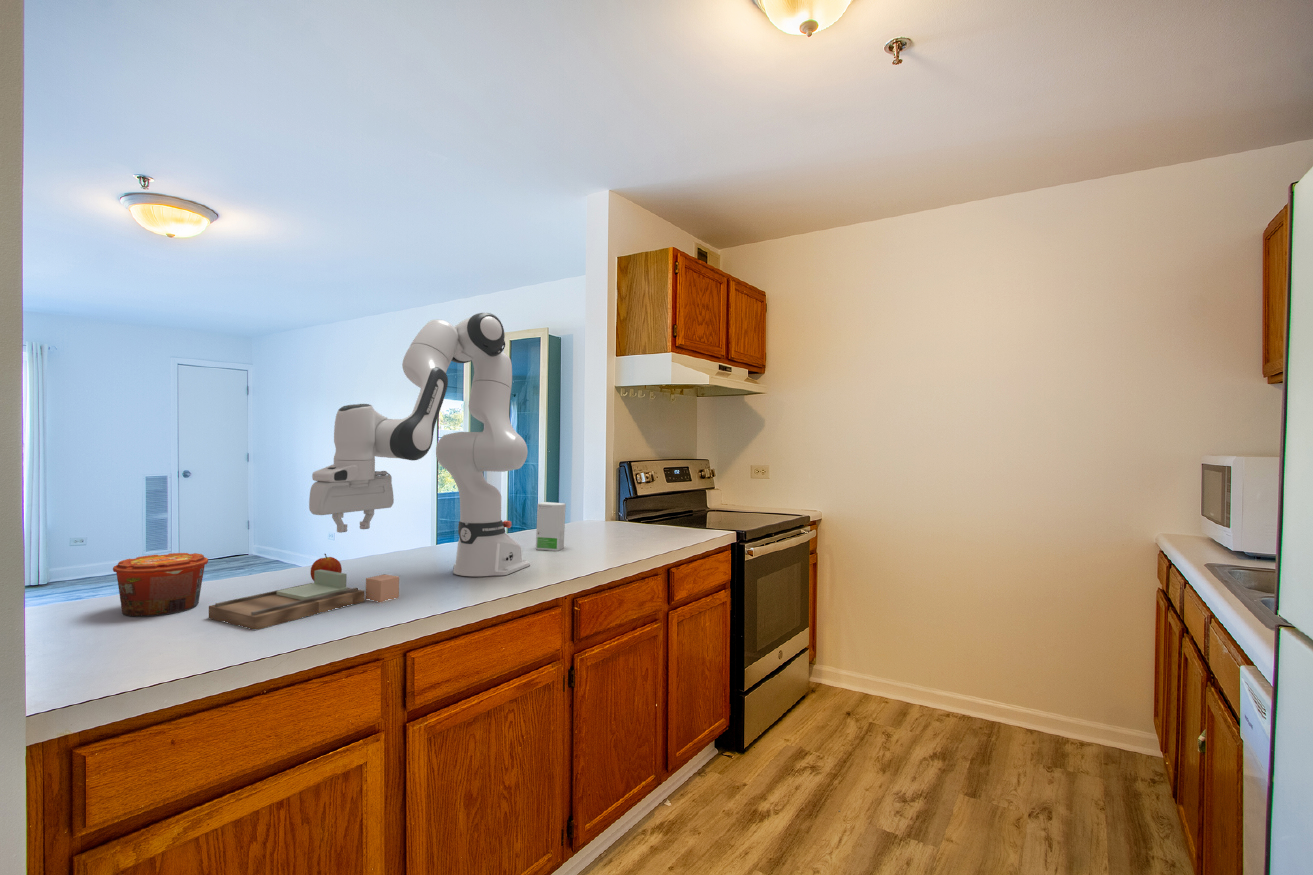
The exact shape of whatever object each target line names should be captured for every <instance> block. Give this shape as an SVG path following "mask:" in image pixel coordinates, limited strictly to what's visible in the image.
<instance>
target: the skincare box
mask: <svg viewBox="0 0 1313 875" xmlns="http://www.w3.org/2000/svg"><path fill="white" fill-rule="evenodd" d="M566 507H567V506H566V503H564V502H552V501H551V502H550V501H542V502H539V503H537V512H536V532H535V533H536V534H535V535H536V537H535V550H539V551H553V552H559V551H561V550H563V549H564V548H565V531H566V530H565V529H566V528H565V527H566V525H565V524H566V509H567V508H566Z"/></svg>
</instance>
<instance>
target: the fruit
mask: <svg viewBox="0 0 1313 875" xmlns="http://www.w3.org/2000/svg"><path fill="white" fill-rule="evenodd" d="M324 556H325V557H320V558H318V559H316V560H315V561H314V562H313V563H312V565H311V568H310V578H311V580H312V581H313V582H314V571H316V570H327V571H333V572H339V573H343V571H342V565H341V564H342V563H341V562H340V561H339V560H338V559H337V558H335V557H333V556H327V554H326V553H324Z"/></svg>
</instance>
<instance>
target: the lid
mask: <svg viewBox="0 0 1313 875" xmlns="http://www.w3.org/2000/svg"><path fill="white" fill-rule="evenodd" d="M347 574H348V573H344V572H342V573H339V572H333V571H327V570H316V571H314V581H313V582H312V583H313V584H310V583H307V584H308V585H305V584H302V585H303V586H300V585H298V586H299V587H295V586H293V587H294V588H291V587H288V588H289V589H286V588H284V589H285V590H281V589H279V590H280V591H277V590H276V591H277V594H276V595H280V596H284V597H289V598H294V599H299V600H305V599H309V598H313V597H317V596H322V595H326V594H330V593H335V592H339V591H343V590H347V589H348V588H349V587H347V576H348V575H347Z"/></svg>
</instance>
